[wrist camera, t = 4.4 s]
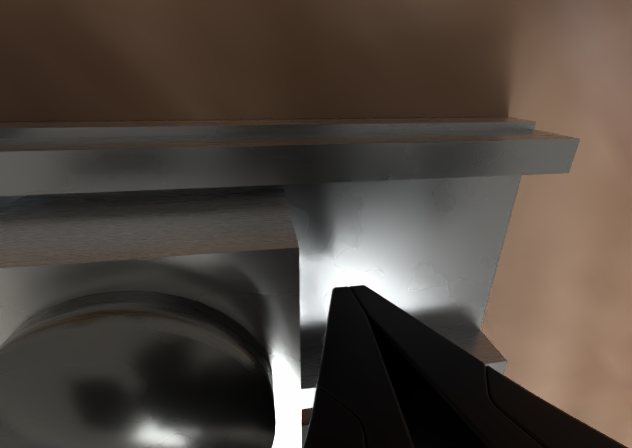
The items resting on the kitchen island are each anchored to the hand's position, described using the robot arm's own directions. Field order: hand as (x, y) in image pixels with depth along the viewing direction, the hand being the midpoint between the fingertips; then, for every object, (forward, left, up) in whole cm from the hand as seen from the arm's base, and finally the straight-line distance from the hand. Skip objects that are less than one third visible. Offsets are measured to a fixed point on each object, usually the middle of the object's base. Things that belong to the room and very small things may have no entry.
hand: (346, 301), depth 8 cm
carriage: (0, +4, -1) cm, 4 cm away
